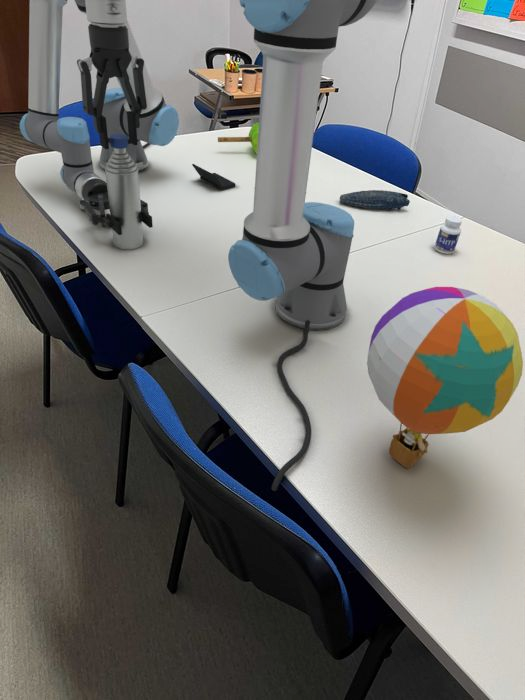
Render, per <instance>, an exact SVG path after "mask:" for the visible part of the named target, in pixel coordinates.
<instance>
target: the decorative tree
mask: <svg viewBox="0 0 525 700" xmlns="http://www.w3.org/2000/svg"><path fill="white" fill-rule="evenodd" d="M258 131H259V121H258V122H256V123H254V124H252V125H251V128H250V130H249V133H248V136H218V137H217V143H250V144H251V147H252V149H253V151H254V153H255V155H257V146H258Z"/></svg>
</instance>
